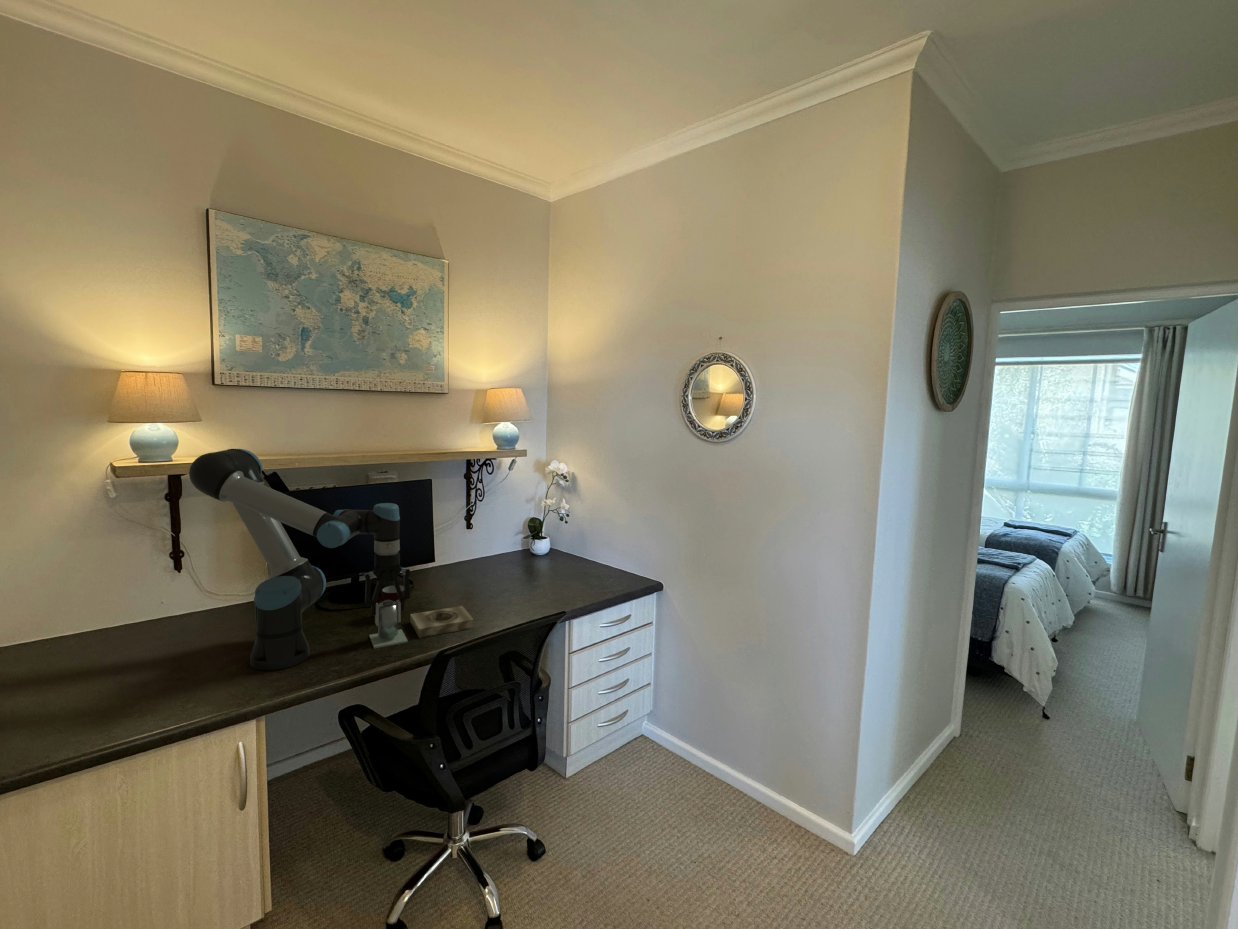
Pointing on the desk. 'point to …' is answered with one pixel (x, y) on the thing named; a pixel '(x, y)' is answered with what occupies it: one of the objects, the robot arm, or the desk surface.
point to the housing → (441, 621)
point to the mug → (391, 594)
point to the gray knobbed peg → (388, 619)
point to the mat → (388, 640)
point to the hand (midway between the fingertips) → (387, 622)
